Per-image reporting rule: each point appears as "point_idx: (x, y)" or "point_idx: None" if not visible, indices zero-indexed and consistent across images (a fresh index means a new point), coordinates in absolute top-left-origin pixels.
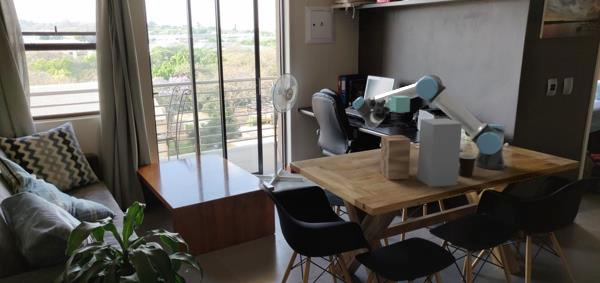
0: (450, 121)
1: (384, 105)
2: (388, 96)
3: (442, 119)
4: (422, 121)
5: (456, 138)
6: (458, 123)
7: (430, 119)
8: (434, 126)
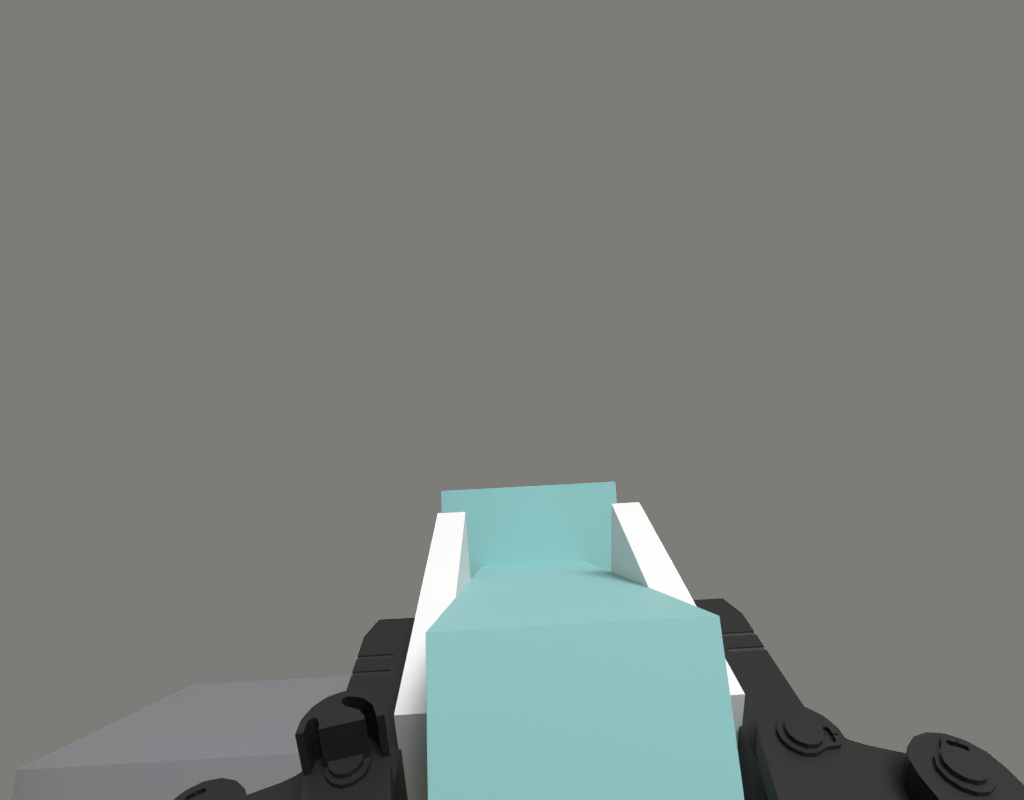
0: (177, 710)
1: None
2: (618, 506)
3: (131, 746)
4: None
5: None
6: (208, 685)
7: (235, 748)
8: None
